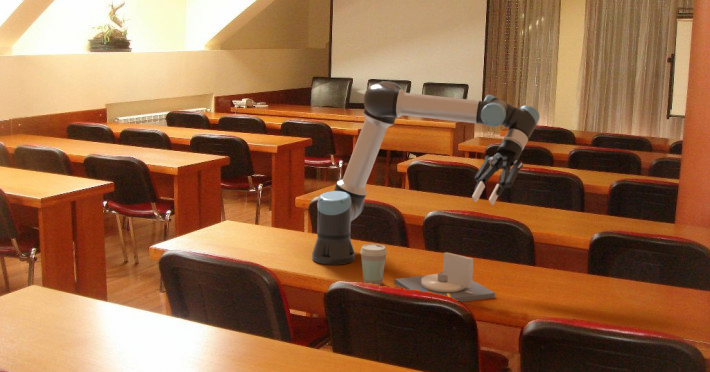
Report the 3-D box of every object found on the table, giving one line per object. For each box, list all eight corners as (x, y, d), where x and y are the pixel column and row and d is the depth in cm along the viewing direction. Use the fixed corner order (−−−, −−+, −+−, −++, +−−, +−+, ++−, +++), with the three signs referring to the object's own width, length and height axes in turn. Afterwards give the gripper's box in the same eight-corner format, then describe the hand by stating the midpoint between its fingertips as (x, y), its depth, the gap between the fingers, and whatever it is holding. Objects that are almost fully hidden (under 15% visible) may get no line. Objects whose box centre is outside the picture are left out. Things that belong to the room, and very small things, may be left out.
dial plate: (394, 283, 253) (394, 278, 253) (457, 276, 262) (457, 271, 262) (428, 306, 232) (428, 300, 232) (494, 297, 241) (495, 292, 241)
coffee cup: (383, 288, 248) (384, 251, 246) (357, 286, 250) (357, 249, 248) (388, 280, 256) (389, 244, 254) (362, 278, 258) (363, 242, 256)
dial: (412, 284, 246) (413, 252, 244) (439, 275, 257) (440, 244, 255) (457, 297, 235) (458, 263, 233) (483, 287, 245) (484, 254, 243)
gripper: (540, 156, 260) (511, 212, 251) (492, 150, 272) (462, 203, 263) (533, 141, 255) (503, 198, 246) (484, 135, 267) (454, 189, 258)
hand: (482, 200), depth 255 cm, fingers open, 6 cm apart
